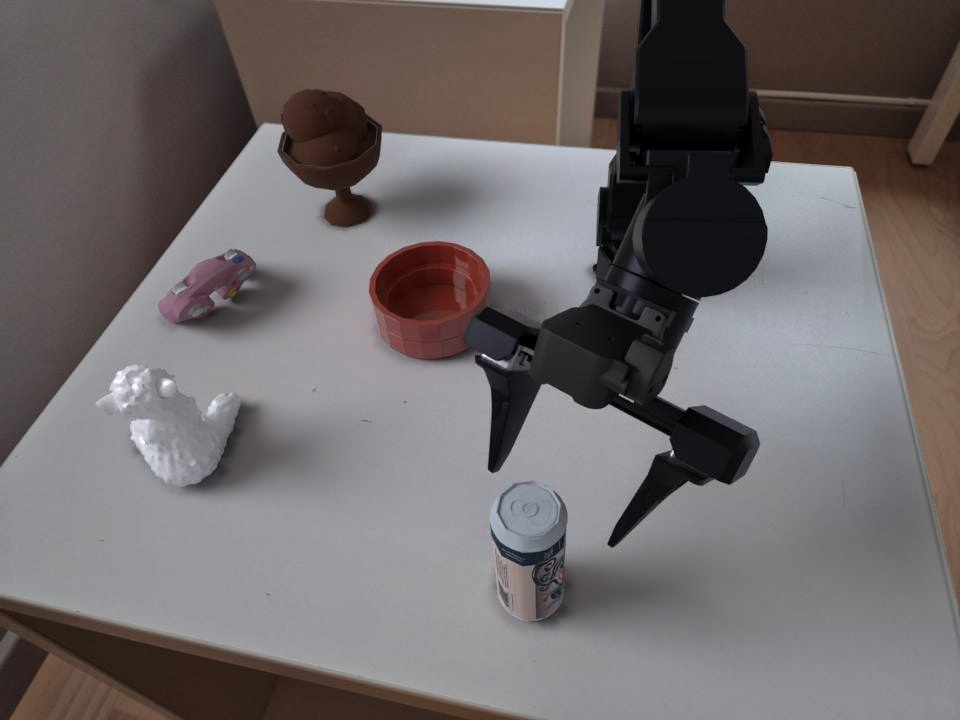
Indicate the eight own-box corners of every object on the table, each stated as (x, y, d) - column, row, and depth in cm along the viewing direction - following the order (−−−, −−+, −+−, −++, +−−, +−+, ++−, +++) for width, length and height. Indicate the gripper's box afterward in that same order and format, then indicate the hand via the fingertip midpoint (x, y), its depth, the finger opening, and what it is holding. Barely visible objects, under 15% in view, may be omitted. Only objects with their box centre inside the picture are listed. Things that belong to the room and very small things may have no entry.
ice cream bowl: (376, 248, 80) (349, 123, 69) (283, 234, 83) (242, 112, 71) (409, 189, 87) (390, 66, 75) (322, 178, 89) (290, 57, 78)
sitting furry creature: (243, 399, 68) (196, 305, 59) (256, 475, 62) (207, 385, 53) (136, 430, 66) (71, 339, 57) (139, 512, 61) (69, 425, 52)
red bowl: (470, 267, 77) (466, 229, 74) (509, 340, 70) (508, 303, 67) (365, 297, 75) (356, 260, 72) (395, 376, 68) (387, 339, 65)
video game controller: (185, 344, 75) (180, 314, 68) (154, 312, 75) (146, 280, 69) (262, 289, 79) (265, 257, 73) (233, 259, 80) (233, 224, 73)
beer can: (558, 629, 52) (562, 550, 43) (491, 617, 53) (481, 537, 44) (567, 566, 55) (572, 479, 46) (504, 555, 56) (496, 469, 47)
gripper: (469, 203, 42) (369, 446, 45) (789, 342, 34) (642, 628, 37) (547, 237, 52) (460, 435, 55) (810, 351, 44) (693, 576, 47)
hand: (549, 506), depth 48 cm, fingers open, 9 cm apart
